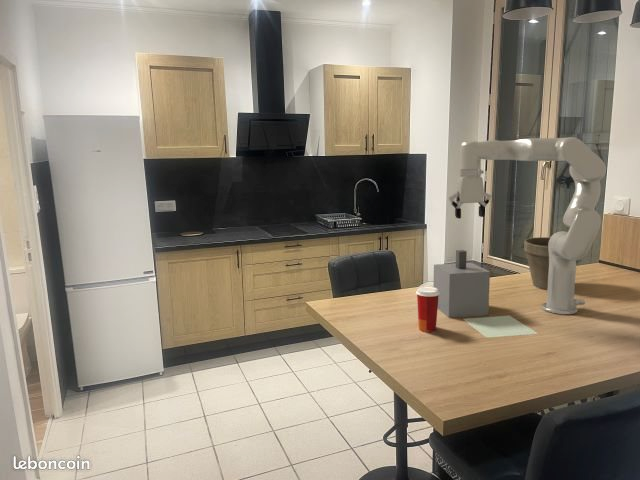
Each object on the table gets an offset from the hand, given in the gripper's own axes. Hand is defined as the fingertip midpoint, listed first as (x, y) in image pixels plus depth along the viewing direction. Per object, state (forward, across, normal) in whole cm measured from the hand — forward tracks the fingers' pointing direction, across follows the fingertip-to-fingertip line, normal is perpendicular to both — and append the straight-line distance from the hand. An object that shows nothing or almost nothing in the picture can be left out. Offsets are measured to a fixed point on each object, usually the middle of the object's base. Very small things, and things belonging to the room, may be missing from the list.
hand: (469, 217), depth 180 cm
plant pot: (+39, -52, -22) cm, 68 cm away
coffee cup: (+38, +25, +18) cm, 49 cm away
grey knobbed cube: (+38, +5, +1) cm, 38 cm away
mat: (+38, -1, +22) cm, 44 cm away
